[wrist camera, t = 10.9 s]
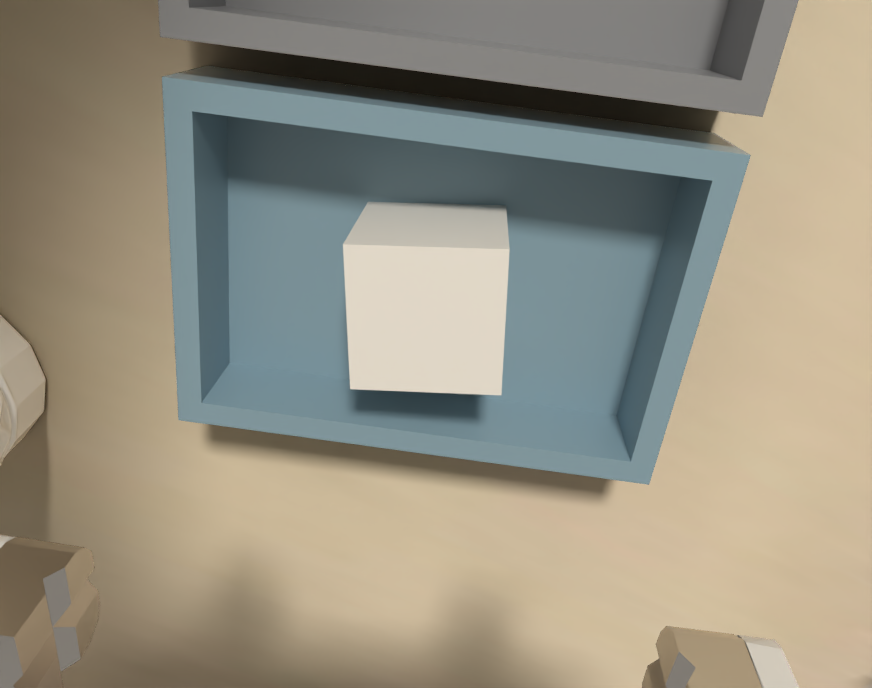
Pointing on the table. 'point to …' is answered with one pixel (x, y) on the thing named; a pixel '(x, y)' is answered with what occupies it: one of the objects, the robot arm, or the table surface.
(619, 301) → the bin
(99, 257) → the table surface
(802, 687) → the table surface
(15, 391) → the white cup
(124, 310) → the table surface
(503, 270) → the white cube
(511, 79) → the tray
